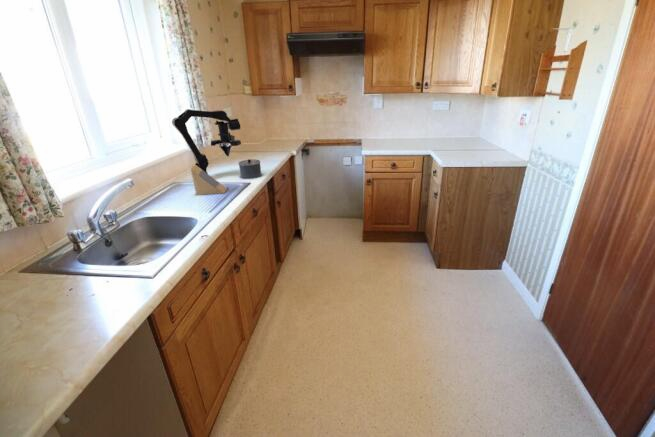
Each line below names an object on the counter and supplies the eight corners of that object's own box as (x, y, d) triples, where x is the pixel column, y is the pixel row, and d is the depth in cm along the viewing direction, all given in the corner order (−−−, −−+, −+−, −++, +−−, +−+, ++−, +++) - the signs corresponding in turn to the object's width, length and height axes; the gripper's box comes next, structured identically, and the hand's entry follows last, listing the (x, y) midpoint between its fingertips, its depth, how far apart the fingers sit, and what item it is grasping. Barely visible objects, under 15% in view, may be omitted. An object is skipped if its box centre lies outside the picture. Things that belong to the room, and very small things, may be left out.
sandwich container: (224, 193, 177) (219, 166, 171) (196, 195, 176) (190, 168, 170) (227, 188, 185) (223, 162, 179) (200, 190, 184) (195, 164, 178)
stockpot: (236, 178, 203) (233, 161, 198) (246, 172, 215) (244, 156, 210) (256, 179, 199) (253, 162, 195) (265, 173, 211) (263, 156, 207)
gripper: (243, 129, 206) (247, 153, 212) (217, 129, 211) (222, 153, 217) (234, 132, 196) (238, 157, 202) (207, 132, 201) (212, 157, 207)
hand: (228, 156), depth 207 cm, fingers closed
